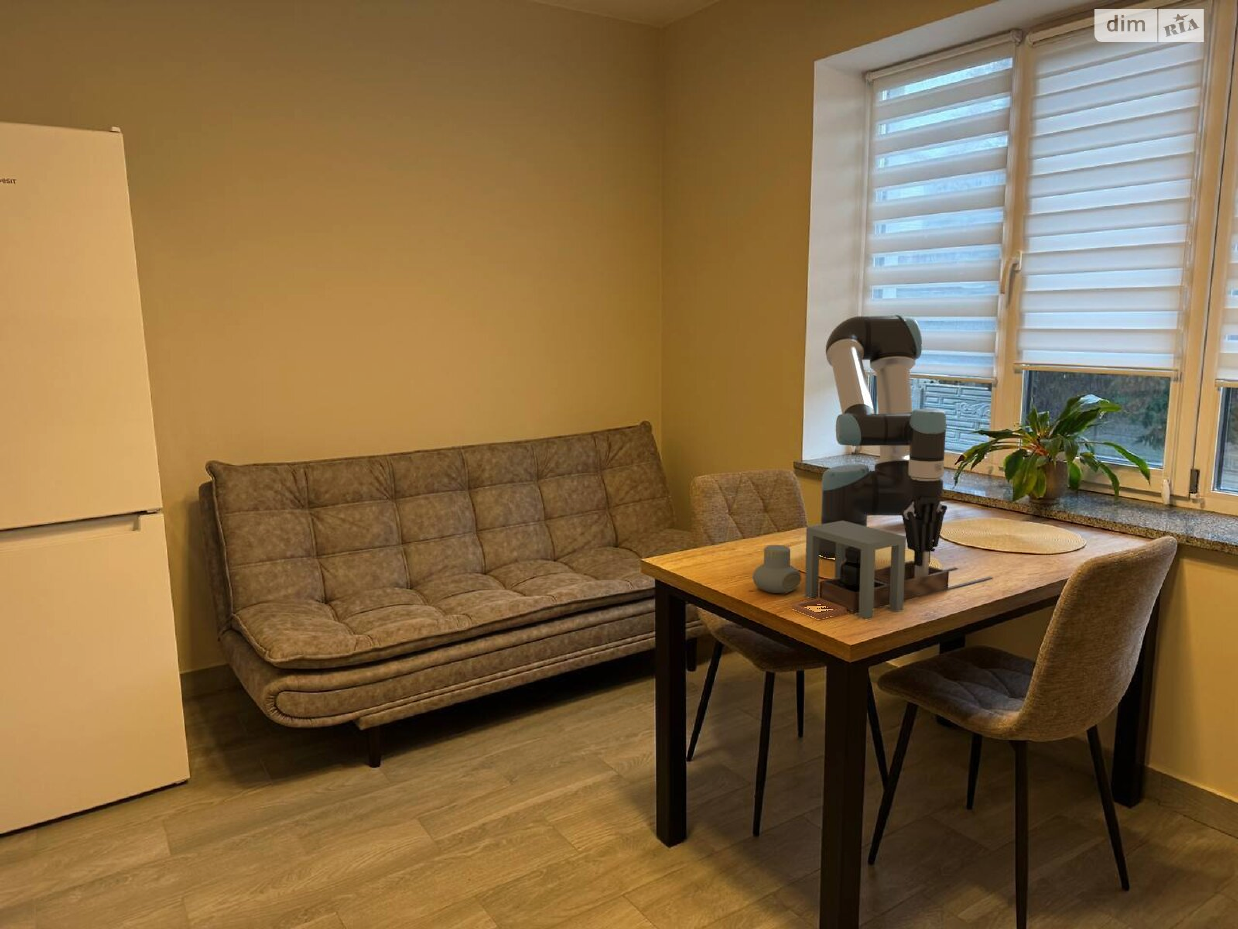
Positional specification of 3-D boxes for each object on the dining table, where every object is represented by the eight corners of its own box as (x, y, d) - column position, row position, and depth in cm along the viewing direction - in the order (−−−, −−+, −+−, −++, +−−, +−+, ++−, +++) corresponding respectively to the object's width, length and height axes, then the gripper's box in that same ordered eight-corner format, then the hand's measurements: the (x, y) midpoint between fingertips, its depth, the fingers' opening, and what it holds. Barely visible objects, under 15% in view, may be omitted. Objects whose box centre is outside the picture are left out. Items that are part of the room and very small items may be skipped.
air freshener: (776, 581, 206) (777, 540, 204) (805, 589, 200) (806, 546, 198) (747, 591, 198) (747, 549, 197) (776, 599, 192) (777, 555, 191)
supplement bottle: (869, 609, 185) (871, 554, 183) (837, 606, 187) (838, 552, 185) (871, 599, 191) (873, 546, 189) (839, 596, 194) (841, 544, 192)
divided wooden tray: (910, 577, 206) (911, 560, 205) (948, 588, 197) (948, 571, 196) (819, 598, 191) (819, 581, 190) (855, 612, 182) (855, 593, 181)
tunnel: (942, 564, 217) (945, 502, 215) (1006, 582, 202) (1010, 515, 199) (805, 596, 194) (806, 527, 191) (866, 619, 179) (868, 544, 176)
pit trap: (791, 609, 185) (791, 604, 185) (819, 603, 189) (819, 597, 189) (818, 620, 179) (818, 615, 178) (846, 613, 183) (846, 607, 182)
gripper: (919, 483, 190) (914, 587, 193) (958, 477, 196) (953, 577, 200) (892, 478, 196) (888, 579, 200) (931, 472, 202) (927, 570, 206)
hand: (921, 578), depth 200 cm, fingers closed
